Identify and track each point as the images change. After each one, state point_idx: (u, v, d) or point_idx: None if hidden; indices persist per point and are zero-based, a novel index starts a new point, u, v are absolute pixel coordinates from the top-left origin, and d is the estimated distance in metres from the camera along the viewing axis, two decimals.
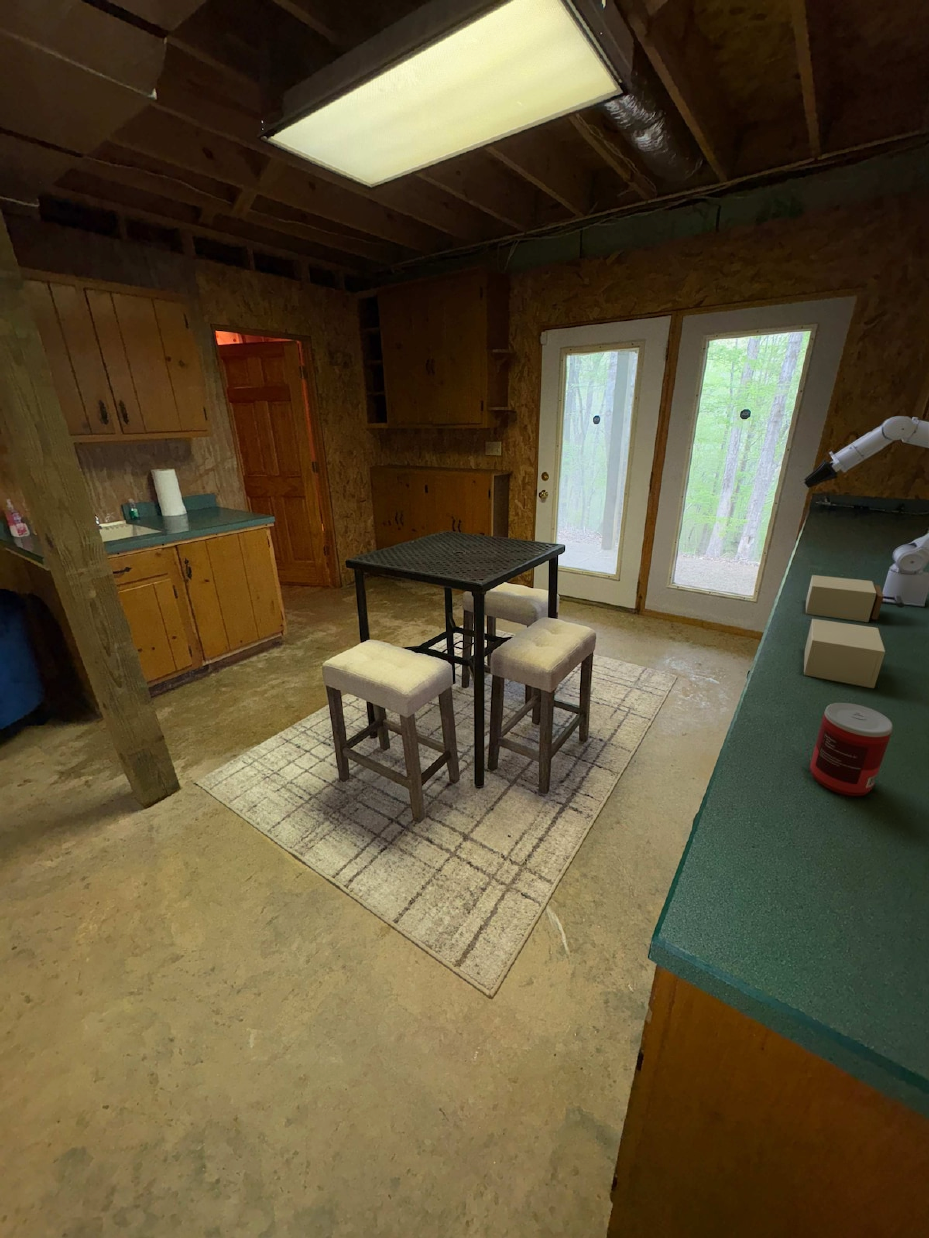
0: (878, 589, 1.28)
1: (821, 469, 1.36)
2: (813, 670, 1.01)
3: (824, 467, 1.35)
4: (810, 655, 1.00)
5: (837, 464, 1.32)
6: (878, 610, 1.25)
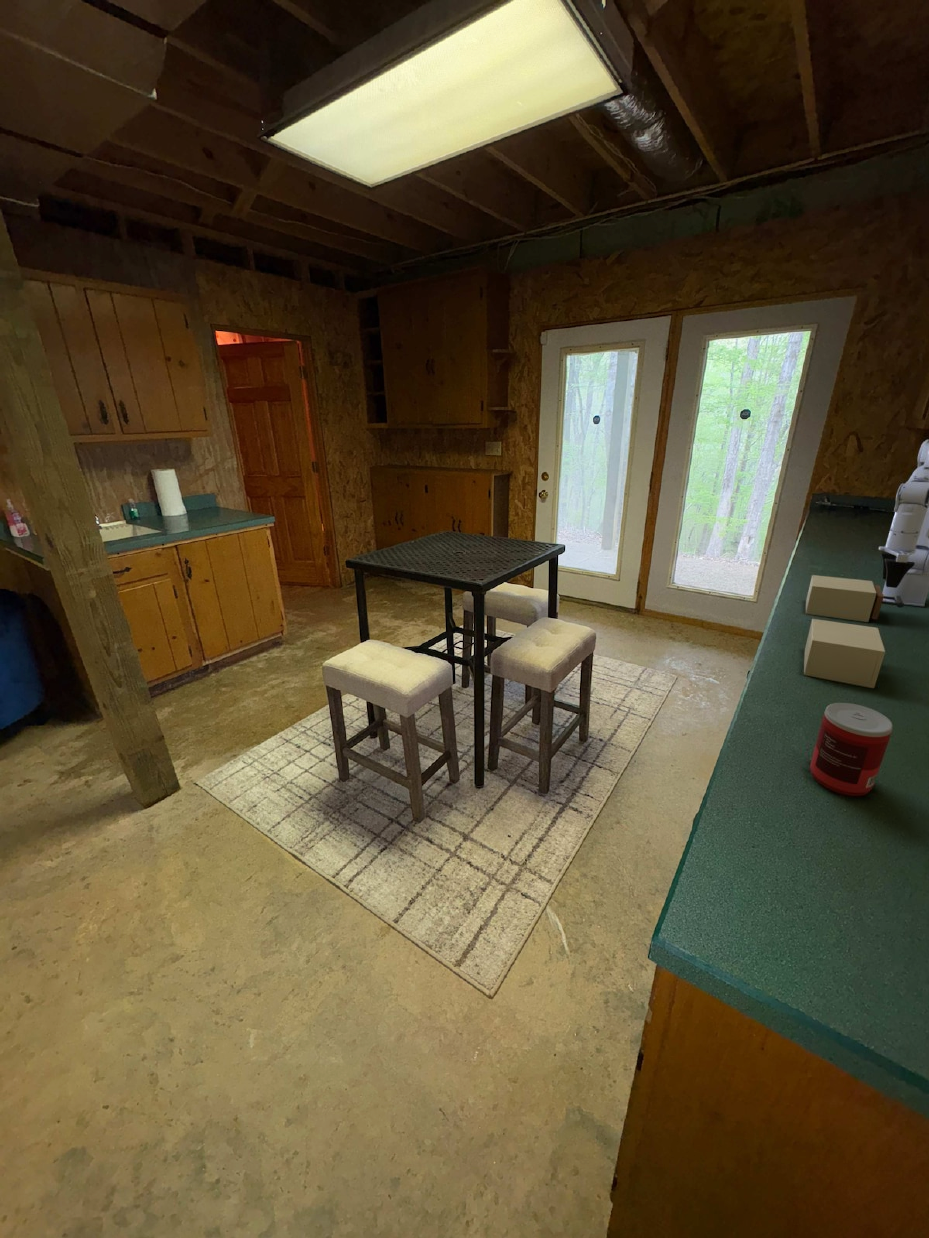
0: (878, 589, 1.28)
1: (889, 568, 1.20)
2: (813, 670, 1.01)
3: (890, 565, 1.20)
4: (810, 655, 1.00)
5: (899, 557, 1.17)
6: (878, 610, 1.25)
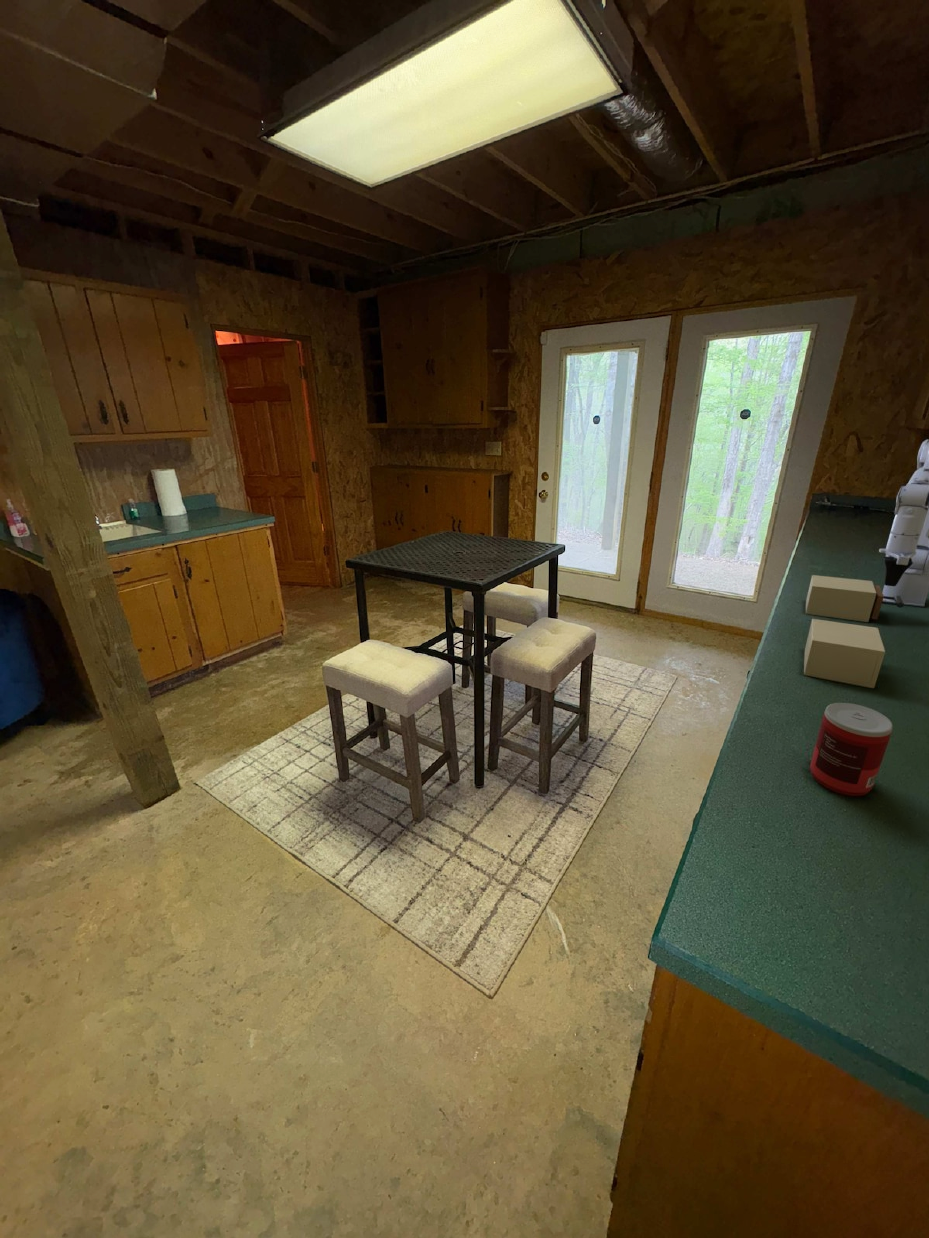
0: (878, 589, 1.28)
1: (888, 567, 1.23)
2: (813, 670, 1.01)
3: (889, 564, 1.23)
4: (810, 655, 1.00)
5: (900, 559, 1.17)
6: (878, 610, 1.25)
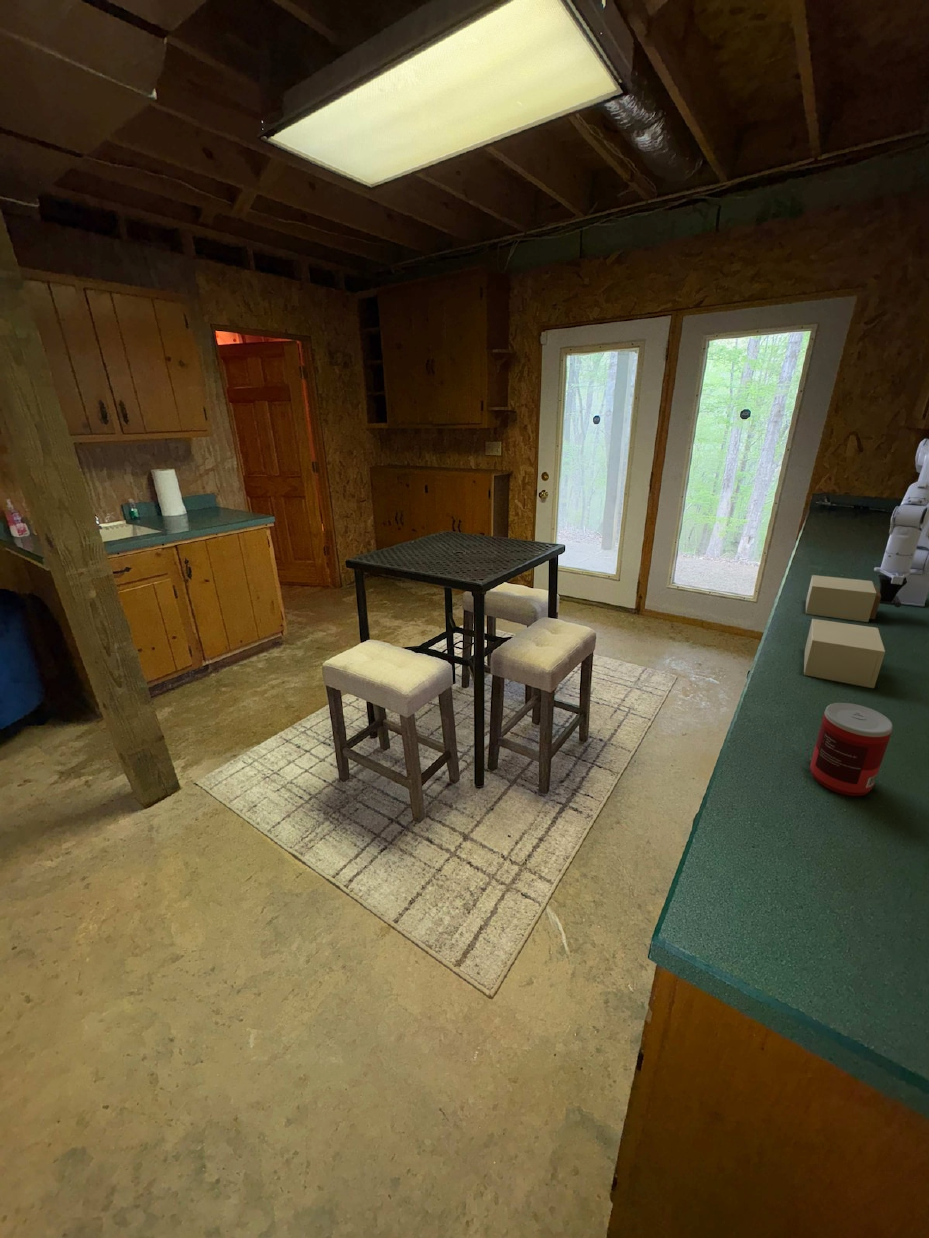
0: (876, 589, 1.28)
1: (883, 586, 1.25)
2: (813, 670, 1.01)
3: (883, 583, 1.24)
4: (810, 655, 1.00)
5: (894, 579, 1.19)
6: (875, 609, 1.25)
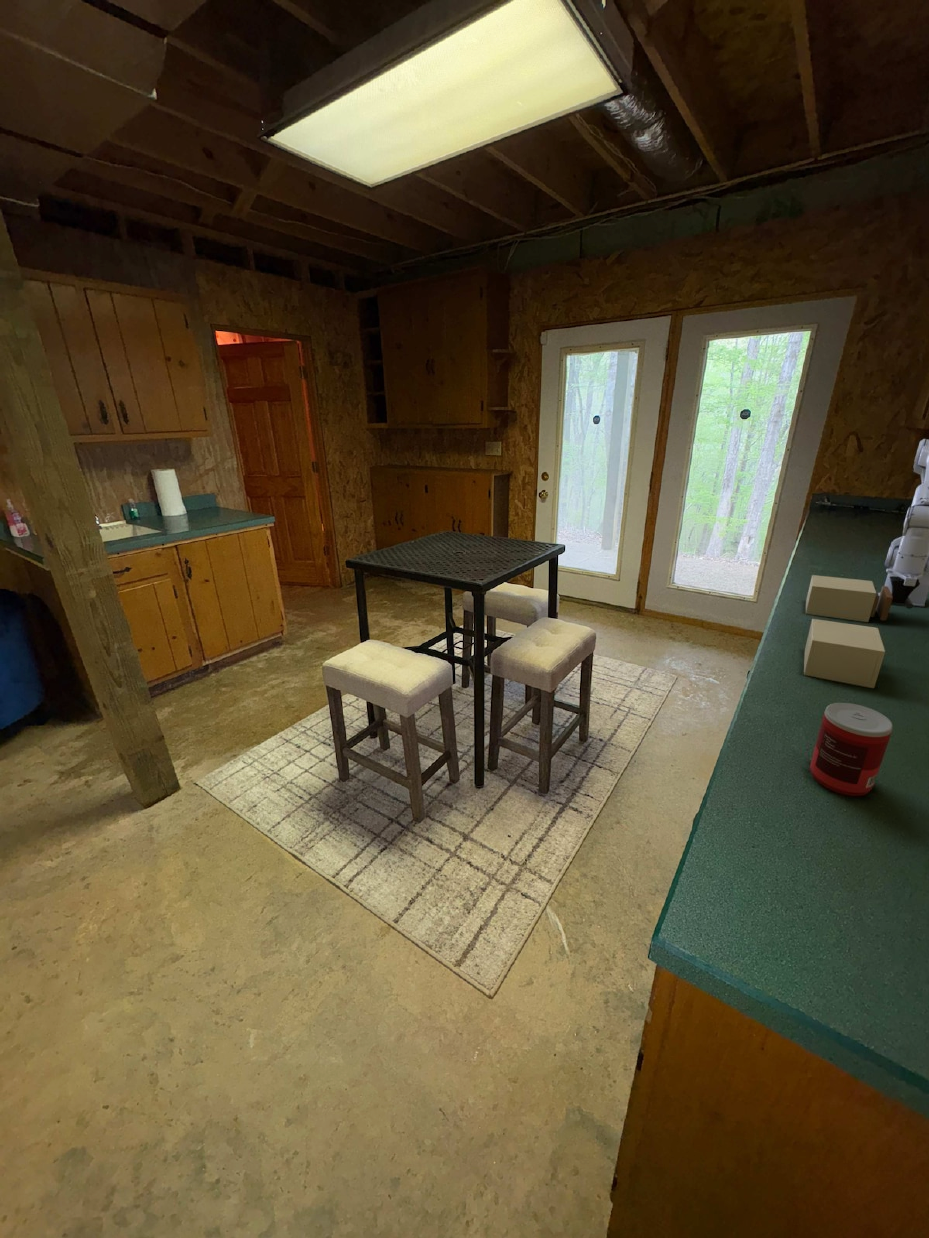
0: (887, 590, 1.27)
1: (895, 587, 1.24)
2: (813, 670, 1.01)
3: (896, 585, 1.23)
4: (810, 655, 1.00)
5: (907, 580, 1.18)
6: (886, 611, 1.24)
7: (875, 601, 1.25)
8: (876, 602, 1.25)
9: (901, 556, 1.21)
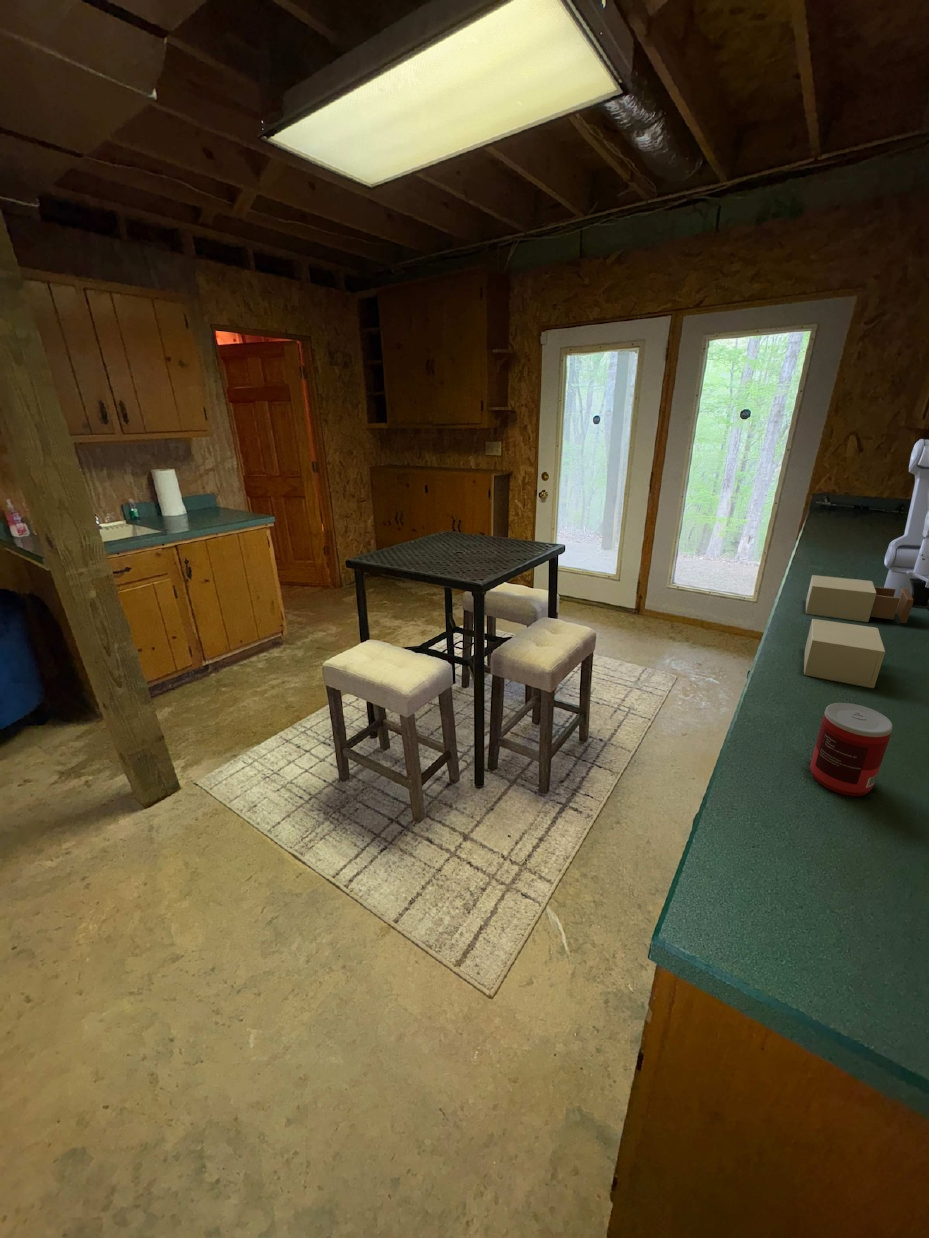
0: (907, 592, 1.25)
1: (915, 589, 1.22)
2: (813, 670, 1.01)
3: (916, 587, 1.21)
4: (810, 655, 1.00)
5: None
6: (907, 613, 1.22)
7: (895, 603, 1.23)
8: (896, 604, 1.23)
9: (922, 558, 1.19)
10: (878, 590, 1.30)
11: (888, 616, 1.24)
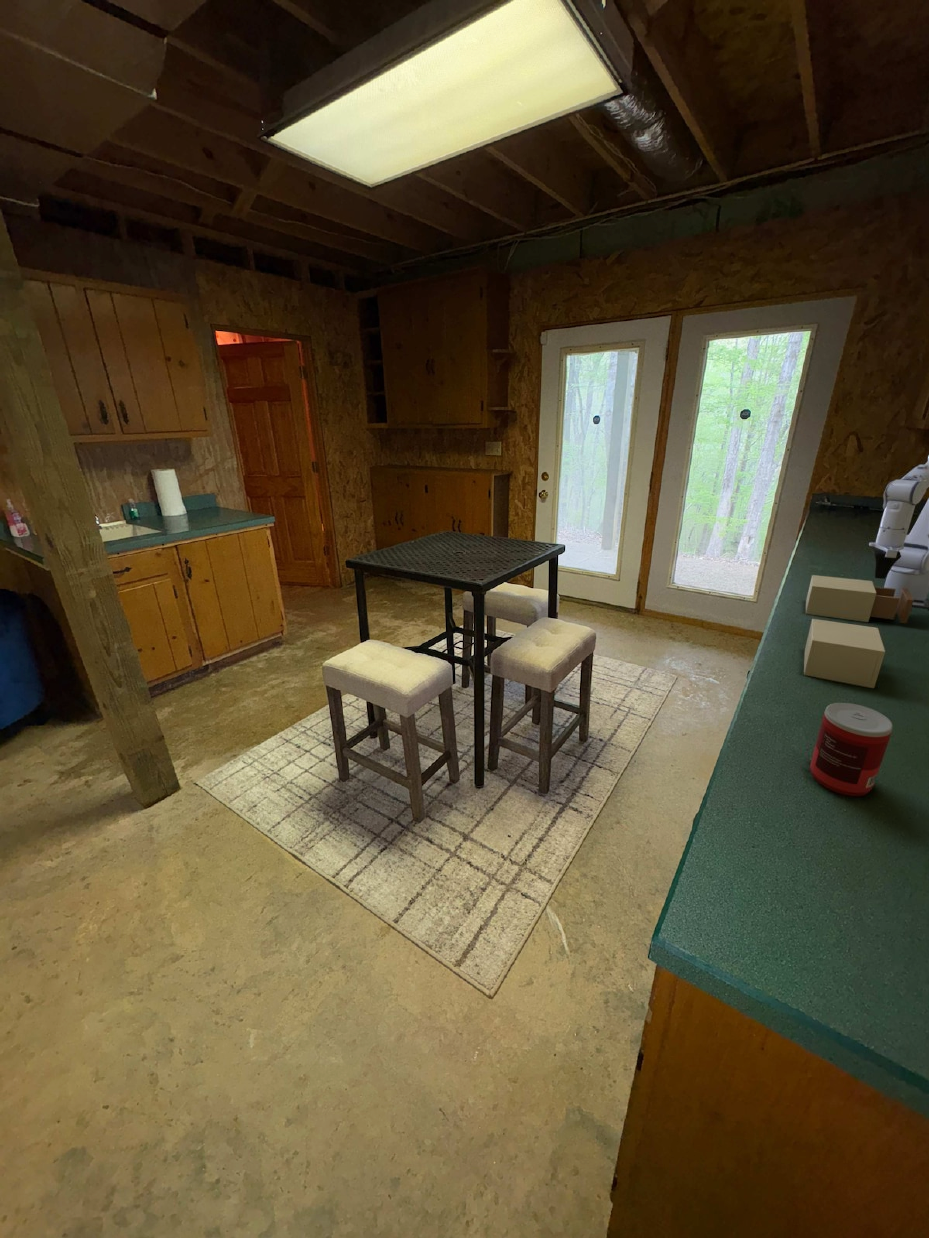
0: (907, 592, 1.25)
1: (877, 560, 1.28)
2: (813, 670, 1.01)
3: (878, 557, 1.27)
4: (810, 655, 1.00)
5: (888, 552, 1.22)
6: (907, 613, 1.22)
7: (895, 603, 1.23)
8: (896, 604, 1.23)
9: (883, 529, 1.25)
10: (878, 590, 1.30)
11: (888, 616, 1.24)
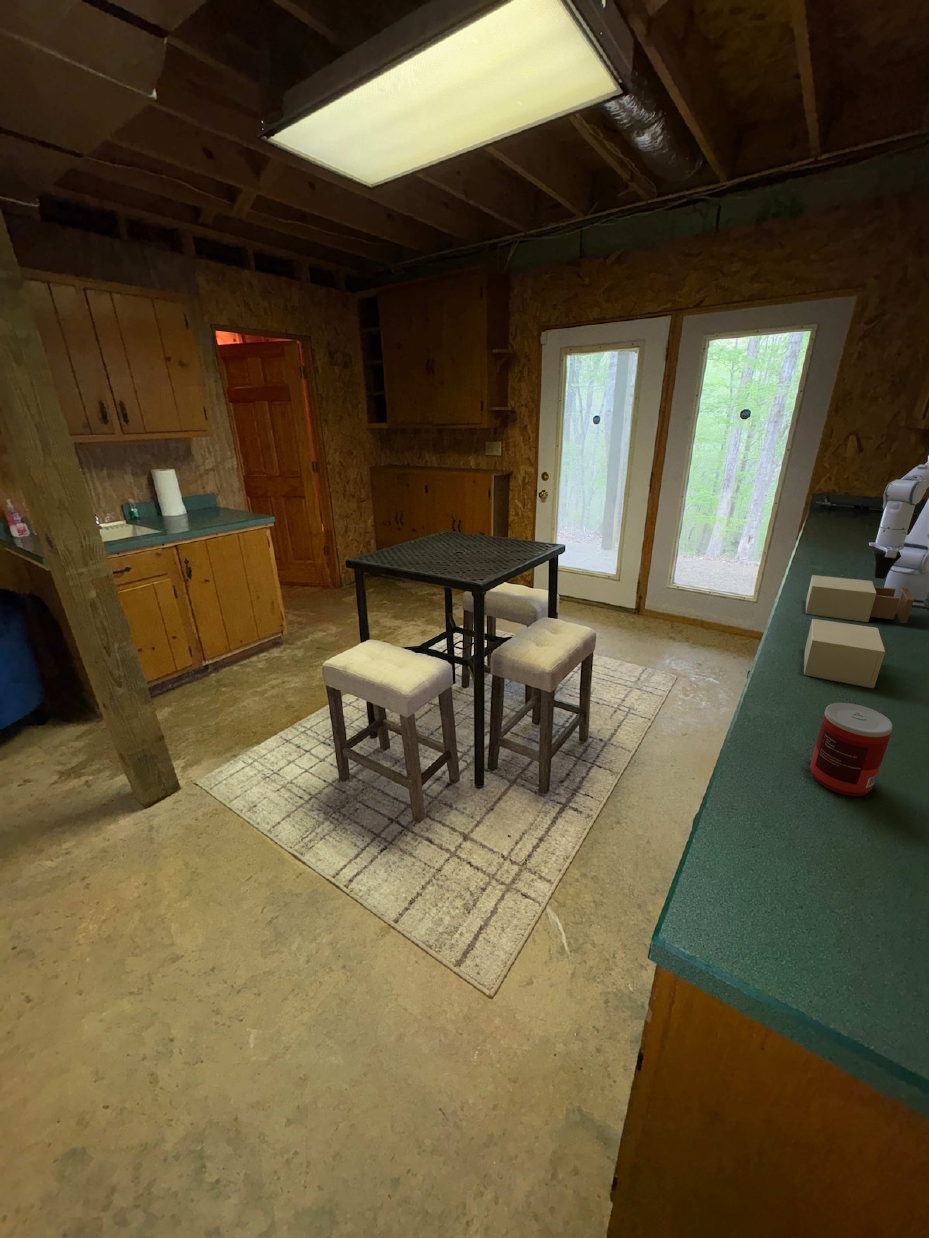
0: (907, 592, 1.25)
1: (877, 560, 1.28)
2: (813, 670, 1.01)
3: (878, 557, 1.27)
4: (810, 655, 1.00)
5: (888, 552, 1.22)
6: (907, 613, 1.22)
7: (895, 603, 1.23)
8: (896, 604, 1.23)
9: (883, 529, 1.25)
10: (878, 590, 1.30)
11: (888, 616, 1.24)
